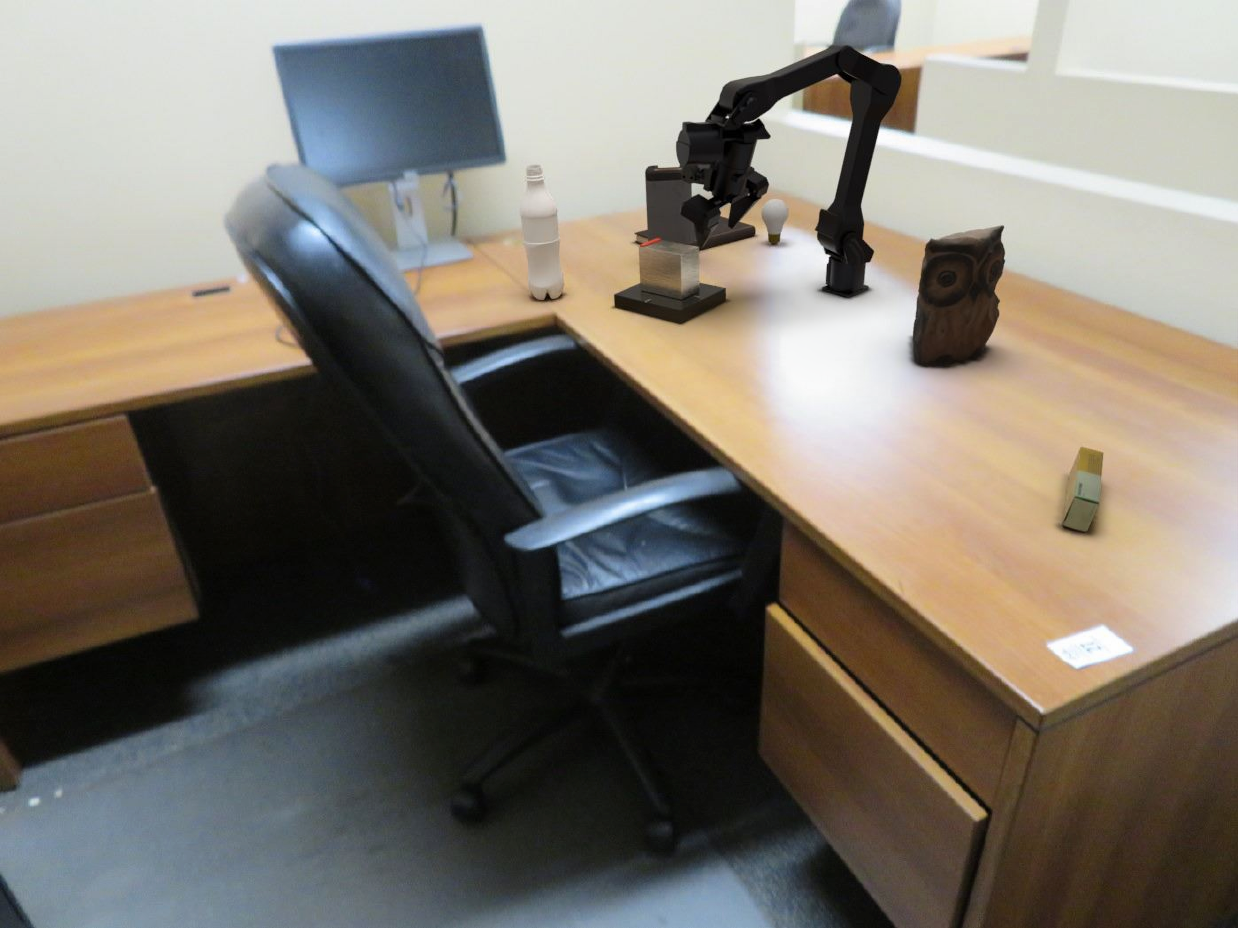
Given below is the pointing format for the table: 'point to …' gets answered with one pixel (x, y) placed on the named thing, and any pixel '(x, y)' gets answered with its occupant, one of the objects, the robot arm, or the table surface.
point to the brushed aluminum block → (669, 268)
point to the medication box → (1083, 490)
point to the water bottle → (541, 237)
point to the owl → (958, 297)
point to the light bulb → (774, 218)
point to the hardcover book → (714, 234)
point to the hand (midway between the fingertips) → (715, 236)
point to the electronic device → (667, 205)
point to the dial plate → (670, 302)
